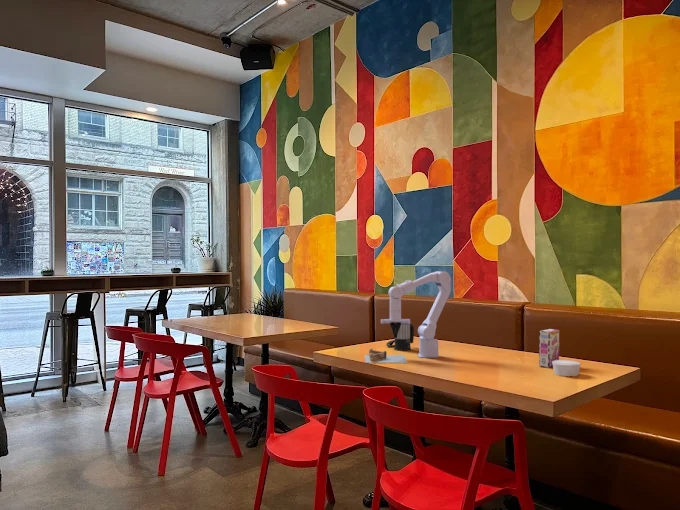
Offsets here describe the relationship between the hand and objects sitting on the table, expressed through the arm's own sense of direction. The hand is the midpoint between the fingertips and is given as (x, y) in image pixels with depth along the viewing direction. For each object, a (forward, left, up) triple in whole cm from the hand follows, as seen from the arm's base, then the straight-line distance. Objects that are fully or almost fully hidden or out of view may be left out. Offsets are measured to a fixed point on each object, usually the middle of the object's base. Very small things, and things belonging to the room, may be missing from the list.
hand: (395, 337), depth 259 cm
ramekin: (-69, +38, -10) cm, 79 cm away
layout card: (+6, +4, -10) cm, 12 cm away
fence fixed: (+9, 0, -10) cm, 13 cm away
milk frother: (-4, -27, -10) cm, 30 cm away
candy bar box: (-69, +20, -10) cm, 73 cm away
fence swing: (+10, +7, -9) cm, 15 cm away
